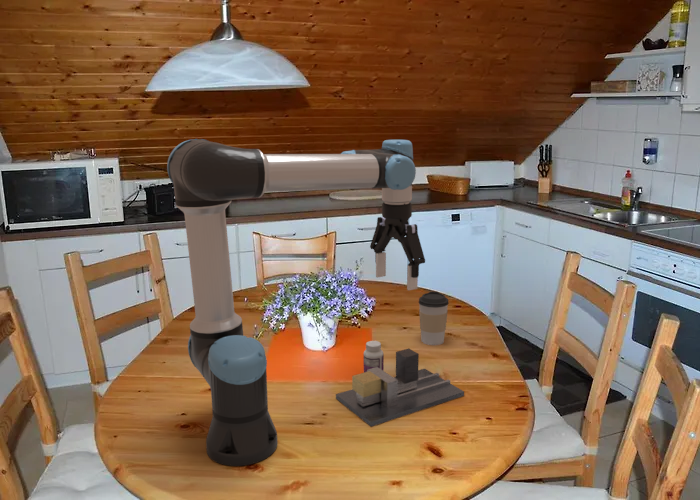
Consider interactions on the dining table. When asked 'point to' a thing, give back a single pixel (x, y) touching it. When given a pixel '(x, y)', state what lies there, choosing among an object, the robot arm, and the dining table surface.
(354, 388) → the block
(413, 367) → the sliding bolt with handle
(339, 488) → the dining table surface
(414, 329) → the dining table surface
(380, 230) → the robot arm
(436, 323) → the coffee cup
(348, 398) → the slotted base plate
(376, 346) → the pill bottle
